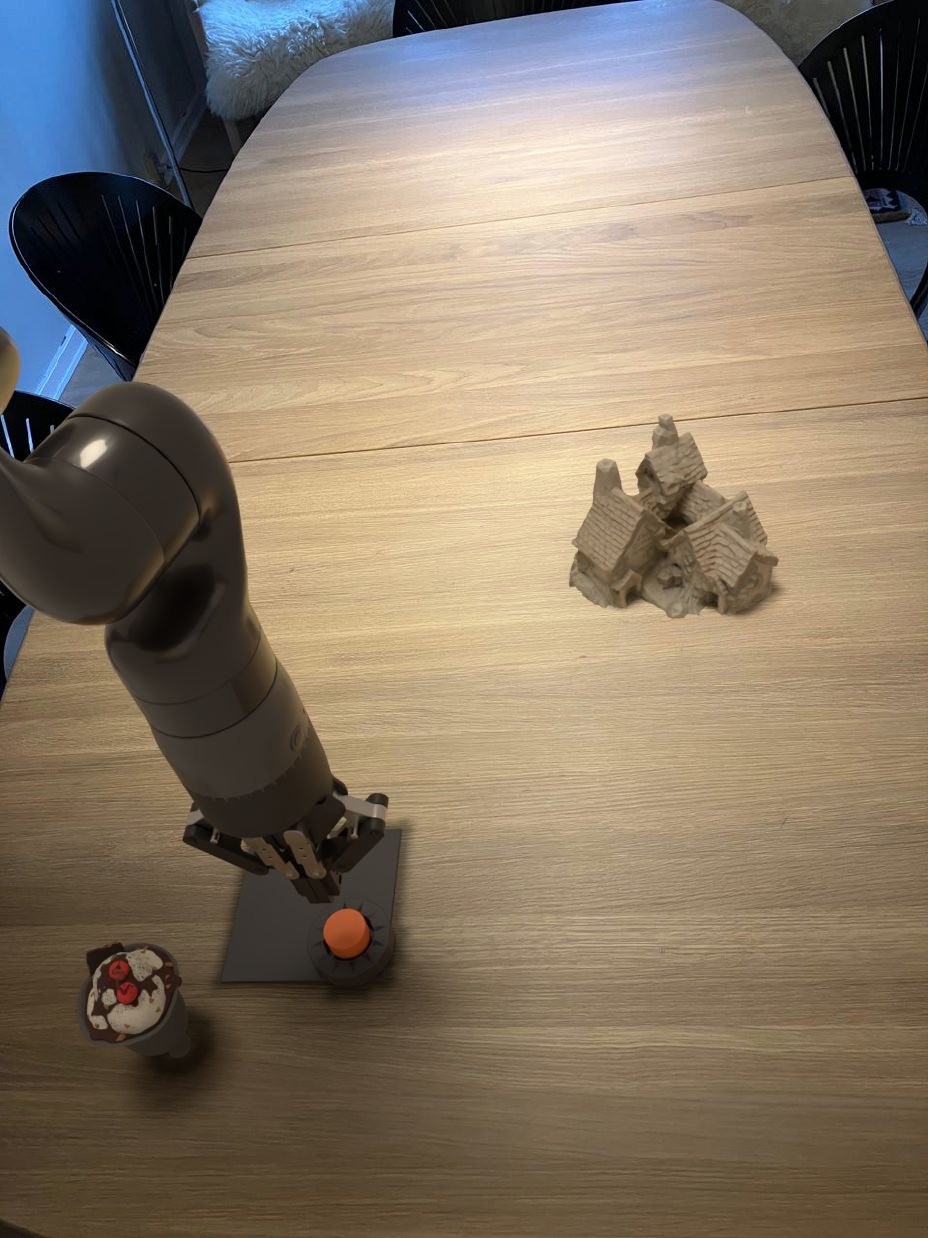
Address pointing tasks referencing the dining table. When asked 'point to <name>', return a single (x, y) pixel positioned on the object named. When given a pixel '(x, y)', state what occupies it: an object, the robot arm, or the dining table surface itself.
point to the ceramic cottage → (670, 536)
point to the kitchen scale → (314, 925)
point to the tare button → (346, 933)
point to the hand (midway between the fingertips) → (324, 890)
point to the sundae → (134, 1000)
